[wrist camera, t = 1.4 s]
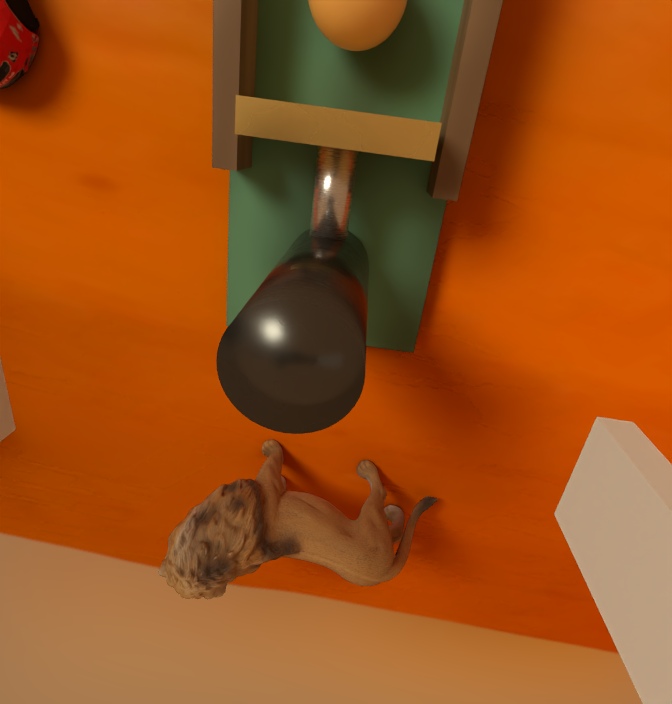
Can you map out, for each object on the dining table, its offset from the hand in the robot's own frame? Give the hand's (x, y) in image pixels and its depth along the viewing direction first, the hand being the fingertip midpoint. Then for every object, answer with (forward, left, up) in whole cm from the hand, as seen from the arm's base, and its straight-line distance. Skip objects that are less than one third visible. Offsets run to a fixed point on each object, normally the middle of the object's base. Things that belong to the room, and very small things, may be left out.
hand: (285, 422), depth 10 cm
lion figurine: (0, -14, -15) cm, 21 cm away
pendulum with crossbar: (0, +2, -13) cm, 14 cm away
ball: (0, +11, -12) cm, 16 cm away
